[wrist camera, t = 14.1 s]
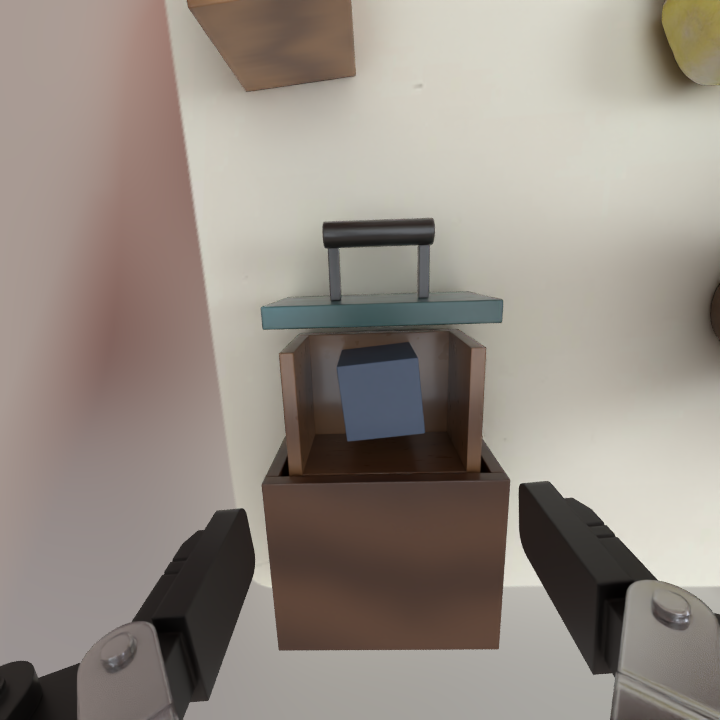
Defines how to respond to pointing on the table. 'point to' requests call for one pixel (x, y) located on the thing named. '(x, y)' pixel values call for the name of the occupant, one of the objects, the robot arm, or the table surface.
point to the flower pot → (716, 312)
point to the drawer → (433, 347)
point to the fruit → (694, 37)
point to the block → (380, 391)
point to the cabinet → (387, 558)
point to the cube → (280, 39)
